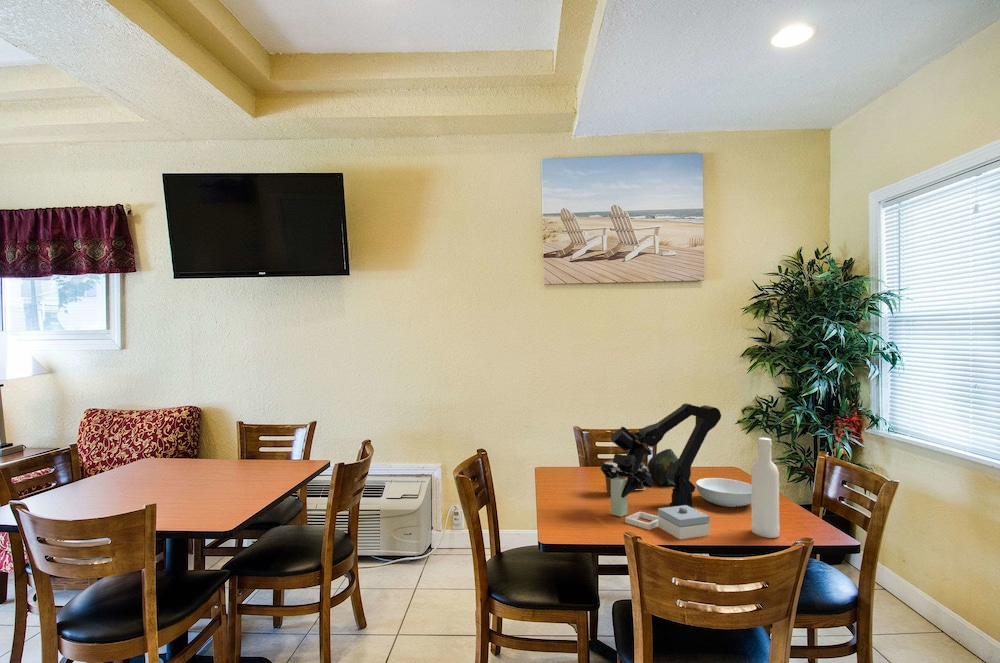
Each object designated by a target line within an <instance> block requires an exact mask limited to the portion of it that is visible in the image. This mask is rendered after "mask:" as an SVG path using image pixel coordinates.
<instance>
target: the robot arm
mask: <svg viewBox="0 0 1000 663" xmlns="http://www.w3.org/2000/svg"><path fill="white" fill-rule="evenodd" d="M691 416H694V417H695V426H694V428H693V429H692V432H691V434H690V436H689V437H688V440H687V442H686V444H685V446H684V448H683V449H682V452H681V454H680V456H679V457H678V460H677V461H676V462H675V463H674V462H672V461H671V462H670V464H669V466H668V468H667V469H666V471H667V472H666V478H667V480H668V481H669V482H670V485H669V486H671V487H672V493H671V502H669V505H671V506H672V507H674V506H683V505H687V506H689V507H691V508H693V509H694V508H696V506H695V505H693V493H694V492H695V489H696V485H695V484H694V483H693V482H692V481H690V480H691V479H690V478H691V476H692V465H693V463H694V460H695V459H696V458H697V454H698V453H699V451H700V449H701V447H702V445H703V443H704V441H705V439H706V437H707V435H708V433H709V432H710V431H711V430H712V429H714V428H715V427H716V426H717V425H718V423H719V421H721V418H722V414H721V411H720V409H719V408H717V407H714V406H711V405H702V406H697V405H694V404H692V403H691V404H690V403H688V402H687V403H683V404H682V405H680V407H678V408H677V409H676V410H674V411H672V412H671V413H670V414H668V415H666V416H665V417H664V418H662V419H661V420H659V421H657V422H656V423H652V424H650V425H647V426H645V427H642V428H640V430H639V431H637V432H632V433H631V432H630V431H629V430H628V429H627V428H626V427H624V426H621V427H620V428H618V429H617V430H615V431H614V432H613V434H612V435H611V437H610V441H611V442H612V443H613V444H614V445H615V446H617V447H618V448H619V449H620V450H622V451H627V453H626V454H619V453H614V455H613V460H612V461H613V463H616V464H618V465H617V467H618V468H620V470H617V469H616V468H614V466H613V465H611V464H606V463H605V462H604V463H602V464H601V466H600V468H599V469H600V471H601V472H602V474H604V477H605V476H606V477H607V478H611V479H613V478H616V477H619V478H620V476H622V477H626V479H627V483H626V485H625V488H624V490H623V492H622V495H621V497H622V498H624V497H625V496H626V495H627V496H629V494H630V493H632V492H633V491H635V489H637V488H638V487H640V488H641V483H642V482H643V487H645V488H650V489H651V488H653V485H654V480H653V479H652V478H651V476H650V475H649V473H648V472H643V471H638V469H641V468H642V466H641V462H643V460H644V457H646V456H647V457H648V456H651V455H652V454H653V453H652V451H651V450H650V447H655V446H656V445H658V444H659V443H660V442H661V441H662V440H663V439H664V437H665V435H666V434H667V433H668V432H669V431H671V430H672V429H674V428H675V427H677V426H679V425H680V424H681V423H682V422H684V421H685V420H686V419H688V418H690V417H691ZM646 446H648V447H646Z"/></svg>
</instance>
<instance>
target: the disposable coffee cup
mask: <svg viewBox="0 0 1000 663" xmlns="http://www.w3.org/2000/svg"><path fill="white" fill-rule="evenodd" d="M604 463H606V464H611V465H613V466H614V468H616V469H617V470H620V468H618V467H617V465H618V464H616V463H613V460H612V461H605V462H604ZM604 477H605V486H606V493H608V494H609V495H611V478H607V477H606V476H605V475H604ZM620 478H623V479H627V478H626V477H622V476H620ZM608 494H607V495H608ZM609 495H608V496H609Z"/></svg>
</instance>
